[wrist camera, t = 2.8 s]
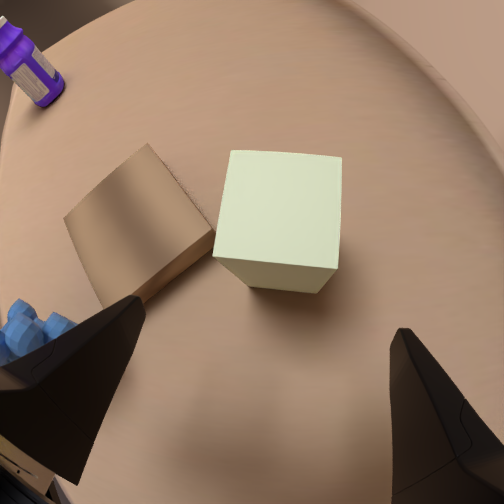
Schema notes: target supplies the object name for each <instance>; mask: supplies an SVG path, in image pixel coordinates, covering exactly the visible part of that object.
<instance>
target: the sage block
mask: <svg viewBox="0 0 504 504" xmlns="http://www.w3.org/2000/svg"><path fill="white" fill-rule="evenodd" d="M341 181H342V158H341V157H332V156H322V155H312V154H300V153H286V152H269V151H246V150H231V155H230V160H229V165H228V170H227V175H226V181H225V186H224V192H223V197H222V203H221V208H220V214H219V220H218V226H217V232H216V237H215V244H214V250H213V257H214V258H215V259H216V260H218V261H219V262H220V263H221V264H222V265H223V266H225V267H226V268H227V269H228V270H229V271H231V272H232V273H233V274H234V275H235V276H236V277H238V278H239V279H240V280H241V281H242V282H244V283H245V284H246V285H247V286H250V287H259V288H268V289H277V290H286V291H296V292H305V293H316V294H317V293H318V292H319V290H320V289H321V288H322V287H323V286H324V285H325V283H326V282H327V281H328V280H329V279H330V277H331V276H332V275H333V274H334V273H335V271H336V270H337V269H338V257H339V240H340V219H341Z"/></svg>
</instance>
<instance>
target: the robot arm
mask: <svg viewBox="0 0 504 504" xmlns="http://www.w3.org/2000/svg"><path fill="white" fill-rule="evenodd" d="M145 317H146V312H145V309H144V306H143V302H142V299H141V297H140V296H137V295H132V294H131V295H128V296H126V297H124V298H123V299H121V300H119V301H117V302H116V303H114V304H112V305H111V306H109V307H107V308H105V309H104V310H102V311H100V312H99V313H97V314H95V315H93V316H92V317H90V318H88V319H87V320H85V321H83V322H82V323H80V324H78V325H77V326H75V327H73V328H72V329H70V330H68V331H66V332H65V333H63V334H61V335H60V336H58V337H57V339H56V338H55V339H53V340H51V341H50V342H48V343H46V344H45V345H43V346H41V347H40V348H38V349H36V350H34V351H32V352H30V353H28V354H26V355H24V356H22V357H20V358H18V359H16V360H14V361H12V362H10V363H8V364H6V365H4V366H0V504H61V502H60V499H59V497H58V494H57V491H56V488H55V485H54V481H52V480H53V477H54V475H55V474H57V475H59V476H60V477H62V478H64V479H66V480H67V481H69V482H71V483H73V484H75V485H76V486H77V485H78V484H79V481H80V478H81V476H82V473H83V470H84V467H85V465H86V462H87V460H88V457H89V454H90V452H91V449H92V447H93V444H94V441H95V439H96V436H97V434H98V431H99V429H100V426H101V424H102V422H103V419H104V417H105V414H106V412H107V410H108V407H109V405H110V403H111V400H112V398H113V396H114V394H115V391H116V389H117V387H118V385H119V382H120V380H121V378H122V376H123V373H124V371H125V369H126V367H127V365H128V363H129V360H130V358H131V356H132V354H133V351H134V349H135V346H136V343H137V340H138V337H139V335H140V332H141V329H142V326H143V323H144V321H145ZM464 398H465V397H464V396H463V394H462V393H461V392H460V390H459V389H458V388H457V386H456V385H455V384H454V382H453V381H452V380H451V378H450V377H449V376H448V375H447V373H446V372H445V371H444V369H443V368H442V367H441V366H440V364H439V363H438V362H437V361H436V359H435V358H434V357H433V356H432V354H431V353H430V352H429V351H428V349H427V348H426V347H425V346H424V345H423V343H422V342H421V341H420V340H419V338H418V337H417V336H416V335H415V334H414V332H413V331H412V330H411V329H409V328H399V329H398V330H397V332H396V334H395V336H394V338H393V341H392V343H391V345H390V404H391V420H392V446H393V479H392V502H391V504H504V445H503V444H502V443H501V441H500V440H499V439H498V438H497V437H496V436H495V434H494V433H493V432H492V431H491V430H490V429H489V427H488V426H487V425H486V424H485V423H484V421H483V420H482V419H481V418H480V417H479V415H478V414H477V413H476V412H475V410H474V409H473V408H472V406H471V405H470V404H469V402H468V401H467V399H464Z"/></svg>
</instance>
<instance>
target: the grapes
mask: <svg viewBox="0 0 504 504" xmlns="http://www.w3.org/2000/svg"><path fill="white" fill-rule="evenodd" d="M77 325H78V324H77V323H75V322H72V321H70V320H68V319H67V318H65V317H63V316H61V315H59V314H57V313H55V312H53V313H52V314H51V315H50V317H49V318H48V319H47V321H46V322H45V321H44V322H43V321H42V320H40V319H39V318H38V316H37V314H36V311H35V309H34V308H33V307H32V306H30V305H29V304H28V303H26V302H24V301H23V300H21V299H18V300H17V301H16V302H15V303H14V304H13V305H12V306H11V308H10V309H9V311H8V322H7V323H6V324H5V325H4V326H3V328H2V329H1V330H0V366H4V365H6V364H8V363H10V362H12V361H14V360H16V359H18V358H20V357H22V356H24V355H26V354H28V353H30V352H32V351H34V350H36V349H38V348H40V347H41V346H43V345H45V344H46V343H48V342H50V341H51V340H53V339H55V338H56V339H57V337H58V336H60V335H61V334H63V333H65V332H66V331H68V330H70V329H72V328H73V327H75V326H77Z"/></svg>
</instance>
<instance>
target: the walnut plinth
mask: <svg viewBox="0 0 504 504" xmlns="http://www.w3.org/2000/svg"><path fill="white" fill-rule="evenodd" d="M63 219H64V222H65V224H66V227H67V230H68V232H69V235H70V237H71V240H72V242H73V245H74V247H75V249H76V252H77V254H78V256H79V259H80V261H81V263H82V265H83V268H84V270H85V272H86V274H87V276H88V279H89V281H90V283H91V285H92V287H93V289H94V291H95V293H96V295H97V297H98V299H99V301H100V303H101V305H102V307H103V309H105V308H107V307H109V306H111V305H112V304H114V303H116V302H117V301H119V300H121V299H123V298H124V297H126V296H128V295H131V294H132V295H137V296H140V297H141V299H142V302H143V304H144V303H145V302H146V301H147V300H149V299H150V298H151V297H152V296H153V295H155V294H156V293H157V292H158V291H160V290H161V289H162V288H163V287H165V286H166V285H167V284H168V283H169V282H171V281H172V280H173V279H174V278H176V277H177V276H178V275H179V274H181V273H182V272H183V271H184V270H186V269H187V268H188V267H189V266H191V265H192V264H193V263H194V262H196V261H197V260H198V259H199V258H201V257H202V256H203V255H205V254H206V253H207V252H208V251H210V250H211V249H212V248H213V247H214V244H215V237H216V232H215V231H214V229H213V228H212V227H211V226H210V224H209V223H208V222H207V220H206V219H205V218H204V216H203V215H202V214H201V212H200V211H199V210H198V208H197V207H196V206H195V205H194V203H193V202H192V201H191V199H190V198H189V197H188V195H187V194H186V193H185V191H184V190H183V189H182V187H181V186H180V185H179V183H178V182H177V181H176V179H175V178H174V177H173V175H172V174H171V173H170V171H169V170H168V169H167V167H166V166H165V165H164V163H163V162H162V161H161V159H160V158H159V157H158V156H157V154H156V153H155V152H154V150H153V149H152V148H151V147H150V145H149V144H148V143H147V144H145V145H144V146H143V147H142V148H140V149H139V150H138V151H137V152H135V153H134V154H133V155H132V156H130V157H129V158H128V159H127V160H126V161H124V162H123V163H122V164H121V165H120V166H119V167H117V168H116V169H115V170H114V171H113V172H112V173H110V174H109V175H108V176H107V177H106V178H105V179H104V180H103V181H102V182H100V183H99V184H98V185H97V186H96V187H95V188H94V189H93V190H92V191H91V192H90V193H89V194H88V195H86V196H85V197H84V198H83V199H82V200H81V201H80V202H79V203H78V204H77V205H76V206H75V207H74V208H73V209H72V210H71V211H70V212H69V213H68V214H67V215H66V216H65V217H64V218H63Z"/></svg>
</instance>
